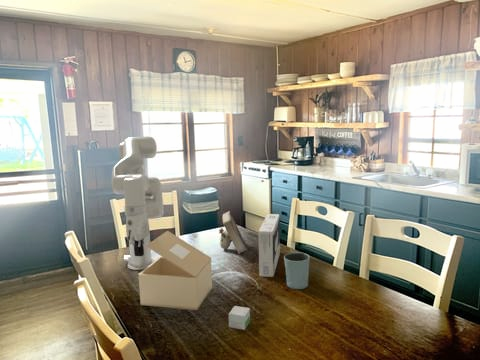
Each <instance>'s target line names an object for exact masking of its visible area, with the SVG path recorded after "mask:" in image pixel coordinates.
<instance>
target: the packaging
mask: <svg viewBox="0 0 480 360" xmlns="http://www.w3.org/2000/svg"><path fill="white" fill-rule="evenodd" d="M280 229H281V227H280V214H279V213H267V214H266V217H265V218H264V220H263V222H262V224H261V226H260V228H259V229H258V232H257V235H258V237H257V238H258V269H259V270H258V275H259V277H265V278H266V277H268V278H274V275H275V272H276V269H277V265H278V262H279V257H280V254H281V244H280V243H281V241H280V240H281V237H280V233H281V232H280V231H281V230H280Z"/></svg>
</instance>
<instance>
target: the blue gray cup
mask: <svg viewBox="0 0 480 360" xmlns="http://www.w3.org/2000/svg"><path fill="white" fill-rule="evenodd" d="M310 258H311V256H310V255H309V254H307V253H304V252H299V251H293V252H288V253H286V254H284V255H283V261H284V267H285V276H286V277H285V278H286V280H285V281H286V286H287V287H289V288H290V289H294V290H303V289H306V288H308V285H309V274H310V273H309V272H310V269H309V268H310V261H311V259H310Z"/></svg>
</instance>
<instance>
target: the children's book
mask: <svg viewBox="0 0 480 360" xmlns="http://www.w3.org/2000/svg"><path fill="white" fill-rule="evenodd" d="M222 224H223V226H224V229H223V227H220V229H219V230H218V234H220V242H219V244H220V248H221V249H223V250H225V251H227V250H228V249H229V248H230V246H231V244H233V245H234V248H235V250H236V252H237V253H238V254H239V255H240V254H241V253H243V252H245V251H247V250H248V248H247V246H246V245H247V244H246V243H247V242H246V241H245V237H243V236H242V233H241V231H240V229H239V227H238V225H237V223H236V221H235V219H234V217H233V215H232V213H231V211H230V210H229V211H227V212H224V213H223V214H222Z"/></svg>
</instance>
